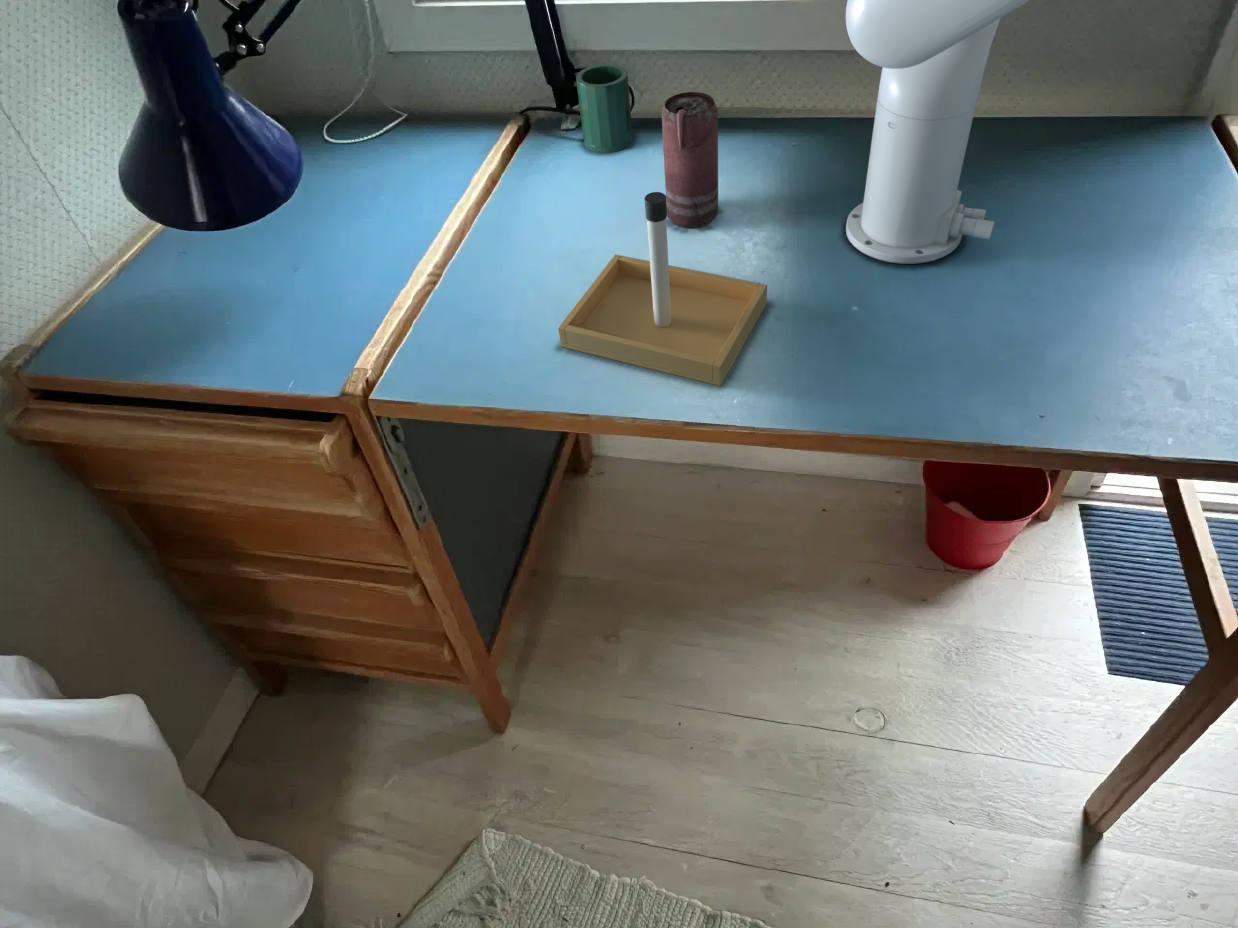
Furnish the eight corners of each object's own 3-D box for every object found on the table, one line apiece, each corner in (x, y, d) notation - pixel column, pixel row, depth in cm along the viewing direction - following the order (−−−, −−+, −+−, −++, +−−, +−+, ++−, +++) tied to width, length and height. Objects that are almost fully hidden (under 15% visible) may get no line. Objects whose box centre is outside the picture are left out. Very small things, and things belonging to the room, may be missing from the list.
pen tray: (766, 304, 92) (767, 284, 90) (720, 386, 84) (720, 366, 83) (616, 272, 98) (614, 254, 97) (560, 346, 90) (557, 327, 89)
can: (662, 230, 103) (655, 116, 93) (672, 201, 107) (667, 88, 97) (713, 233, 102) (712, 117, 92) (721, 203, 106) (721, 90, 96)
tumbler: (640, 132, 120) (635, 67, 113) (619, 156, 116) (613, 89, 109) (597, 126, 122) (590, 61, 116) (576, 149, 118) (567, 83, 112)
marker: (675, 318, 91) (669, 193, 81) (667, 329, 90) (660, 204, 79) (657, 314, 92) (649, 190, 81) (650, 325, 91) (640, 201, 80)
